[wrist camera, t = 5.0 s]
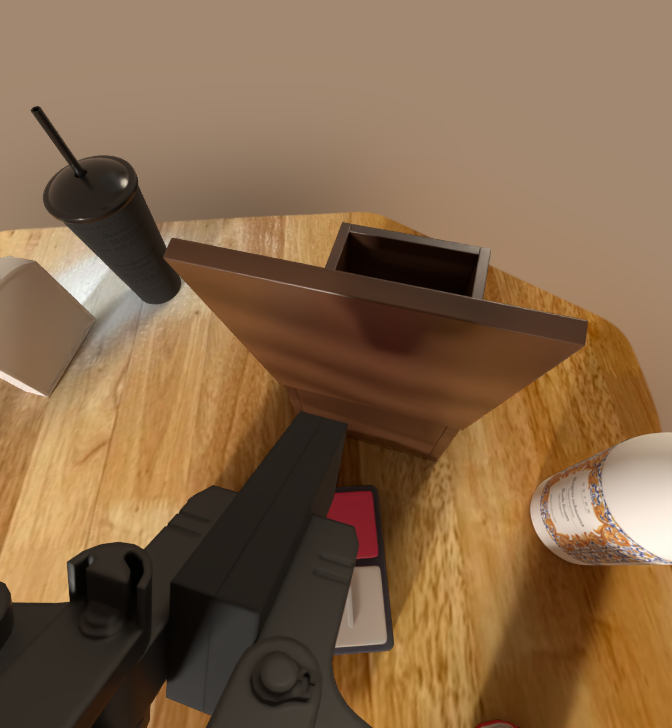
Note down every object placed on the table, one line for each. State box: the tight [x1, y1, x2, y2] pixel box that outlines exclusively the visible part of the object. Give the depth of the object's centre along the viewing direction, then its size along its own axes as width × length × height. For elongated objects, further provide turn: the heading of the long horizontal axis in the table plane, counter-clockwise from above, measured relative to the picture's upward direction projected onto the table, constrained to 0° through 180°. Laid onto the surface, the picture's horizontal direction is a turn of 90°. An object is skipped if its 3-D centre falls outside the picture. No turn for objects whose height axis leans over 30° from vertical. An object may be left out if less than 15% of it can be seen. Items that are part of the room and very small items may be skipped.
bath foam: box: [530, 433, 672, 565], centre depth 25 cm, size 7×7×20 cm
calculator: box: [187, 485, 394, 655], centre depth 31 cm, size 11×4×15 cm
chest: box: [284, 222, 491, 461], centre depth 36 cm, size 16×13×10 cm
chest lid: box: [163, 238, 588, 430], centre depth 20 cm, size 17×13×1 cm
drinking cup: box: [31, 106, 181, 304], centre depth 37 cm, size 8×8×20 cm
